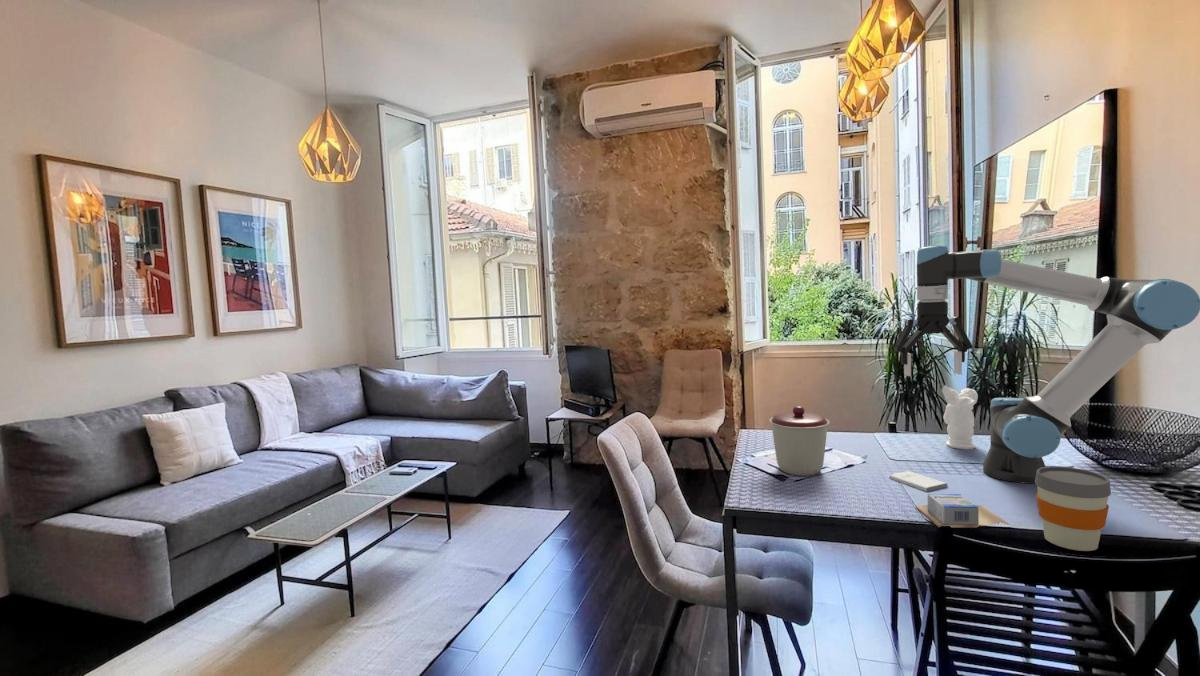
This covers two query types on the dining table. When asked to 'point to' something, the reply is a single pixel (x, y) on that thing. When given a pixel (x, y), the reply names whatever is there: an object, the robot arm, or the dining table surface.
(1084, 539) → the reusable coffee cup
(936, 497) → the medicine box
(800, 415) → the canister
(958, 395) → the cherub figurine
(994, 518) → the cork mat
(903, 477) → the external hard drive
